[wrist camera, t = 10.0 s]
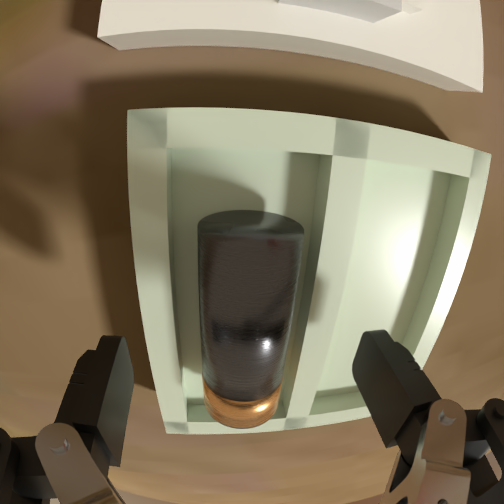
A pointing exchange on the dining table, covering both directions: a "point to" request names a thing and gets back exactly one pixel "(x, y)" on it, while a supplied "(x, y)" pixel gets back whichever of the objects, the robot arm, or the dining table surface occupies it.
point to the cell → (246, 311)
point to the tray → (314, 244)
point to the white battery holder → (317, 32)
